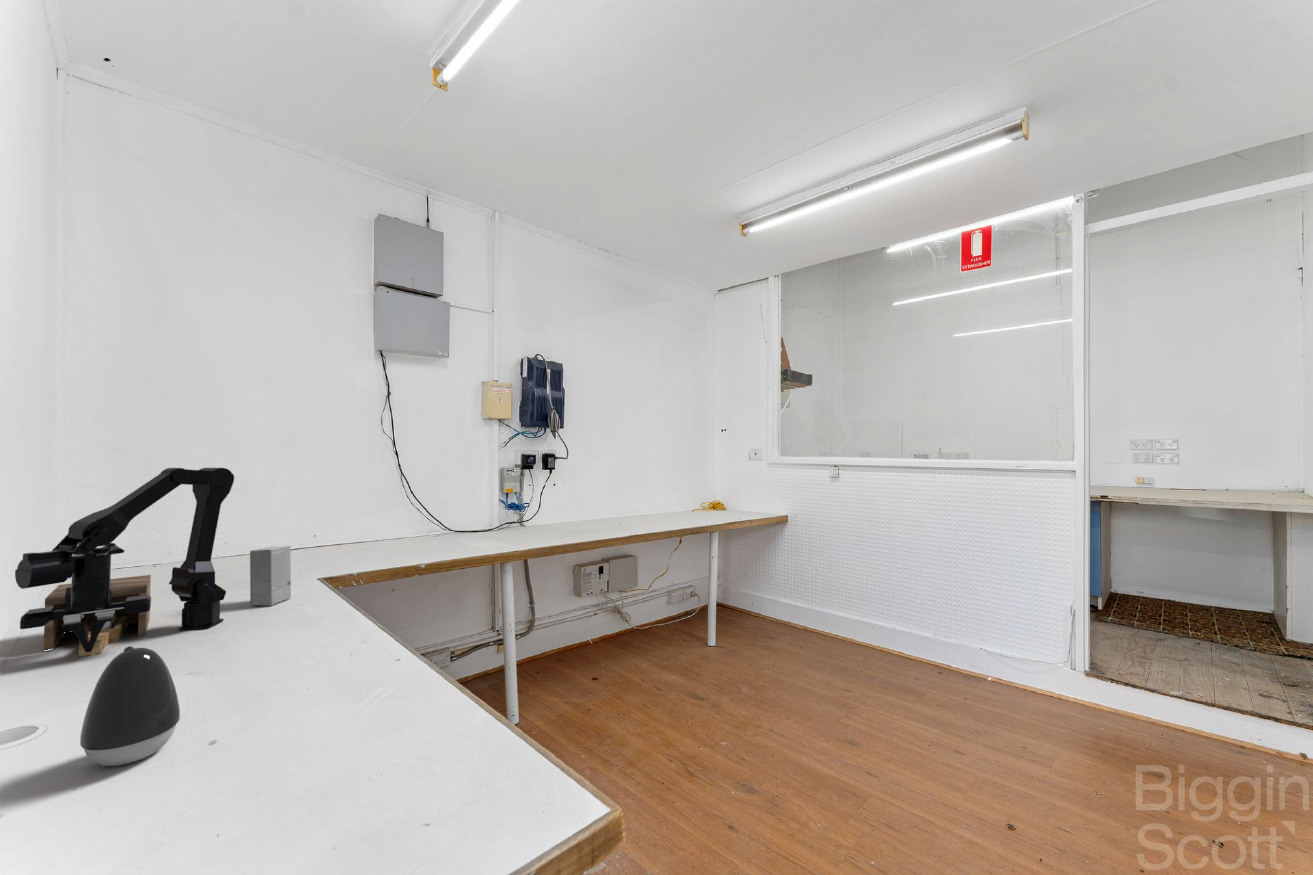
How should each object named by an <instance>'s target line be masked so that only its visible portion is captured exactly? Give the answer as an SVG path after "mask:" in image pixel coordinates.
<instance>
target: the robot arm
mask: <svg viewBox="0 0 1313 875" xmlns="http://www.w3.org/2000/svg"><path fill="white" fill-rule="evenodd" d="M234 482H235V475H234V473H233V472H231V470H230V469H228V468H225V467H202V468H200V469H186V468H183V467H167V468H165V469H163V470H162V471H161V472H160V473H159V474H157V475H156V476H155V477H153V478H151V479H150V480H148V481H147V482H146V483H144V484H142V485H141V486H139V487H138V488H136V489H135V490H133V491H132V492H130V493H129V494H128V495H126V496H125V497H123V498H122V499H120V500H118V501H117V502H116V503H114V504H112V505H110V506H109V507H106V508H104V509H101V510H99V511H95V512H92V513H90V514H89V515H86V516H84V517H82V518H80V519H78V520H76V521H73V523H72V524H71V525H69V527H68V531H67V534H66V535H65V536H64V537H63V538H62V539H61V540H60V541H59V542H58V544H57V545H55V547H53V548H52V550H51V551H50V550H49V551H44V552H43V551H42V552H25V553H23V554H22V559H21V560H20V561H19V563H18V564H17V568H16V569H15V570H14V576H15V577H14V578H15V581H16V582H15V583H16V585H17V586H18V587H19V588H20V589H23V590H25V589H29V588H36V587H41V586H42V587H43V586H47V585H54V584H55V585H56V584H62V583H65V582H66V581H68V579H71V583H70V584H71V587H68V588H66V593H65V602H66V603H71V609H64V610H57V611H55V608H54V607H46V608H45V607H40V608H33V609H32V608H31V609H29V610H28V611H26V612H25V613H24V614H23V615H22V616H21V617H20V620H19V630H28V629H34V628H41V627H44V625H45V624H47V623H48V622H49V621H50V620H58V619H63V621H64V624H63V627H70V629H71V630H72V631H73V632H72V633H73V634H74V635H75V636H76V637H77V639H78V641H80V643H81V645H82V646H83V648H84V650H85V652H86V653H87V652H91V651H92V649H93V647H94V644H95V642H96V640H97V637H98V635H99V633H100V631H101V629H102V628H103V626H104V625H105V623H106V622H107V621H112V620H113V619H114V617H115V612H116V611H124V610H125V612H127V613H129V614H135V613H142V612H148V611H150V612H151V606H152V597H151V595H150V596H149V595H142V596H134V597H127V599H126V602H119V603H111V604H110V602H111V598H112V590H111V588H110V579H111V572H112V570H111V567H112V555H117V554H118V555H119V554H124V553H125V549H123V548H121V547H119V546H118V545H117V544H116V543H114V541H115V540H116V539H117V538H118V537H119V536H120V535H121V534H122V533H123V532H124V531H125V530H126V529H127V527H128V525H130V524H129V523H130V522H131V521H132V520H133V519H134V518H136V517H137V516H138V515H140V514H142V512H144V511H145V510H147V509H148V508H149V507H152V506H153V505H154V504H155V503H156V502H158V501H160V500H161V499H162V498H164V497H166V495H168V494H170V493H171V492H172V491H173V490H176V488H178V487H179V486H181V485H186V486H187V485H190V486H191V485H192V494H193V496H194V498H195V501H196V503H195V505H196V506H195V511H194V514H193V521H192V526H191V531H190V534H189V535H190V536H189V541H188V546H187V552H186V558H185V560H184V561H183V562H182V564H181V565H180V566H179V567H176V566H174V567H173V568H172V570H171V571H172V572H171V579H170V580H169V583H168V585H171V591H172V593H174V594H175V595H176V596H178V598H179V600H180V602H184V603H183V608H182V609H181V626H179V628H178V630H179V631H185V630H186V631H187V630H200V629H201V630H202V629H204V630H206V629H211V628H212V627H213V626H216V625H218V624H220V623H222V622H224V618H221V617H220V616H221V601H223V600H224V599H225V596H226V594H227V591H226V590H225V589H224V588H222V587H221V586H219V585H218V584H216V571H215V568H214V566H213V562H212V554H213V551H214V550H213V549H214V543H215V539H216V533H217V529H218V522H219V517H220V512H221V506H222V504H223V502H224V500H225V499H226V498H227V497H228V495H229V494H230V492H231V491H232V488H233V485H234ZM83 611H85V612H83ZM76 612H78V613H76ZM94 614H95V616H96V617H95V619H94V621H93V625H92V630H91V636H90V641H89V636H88V629H87V615H94ZM84 616H85V617H84Z"/></svg>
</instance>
